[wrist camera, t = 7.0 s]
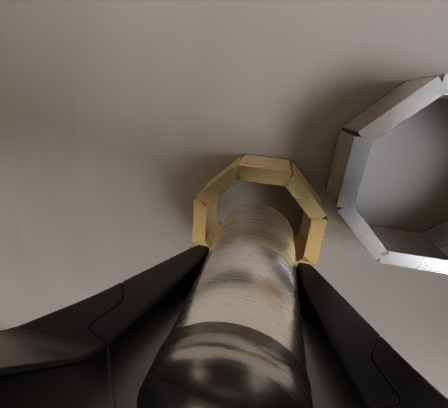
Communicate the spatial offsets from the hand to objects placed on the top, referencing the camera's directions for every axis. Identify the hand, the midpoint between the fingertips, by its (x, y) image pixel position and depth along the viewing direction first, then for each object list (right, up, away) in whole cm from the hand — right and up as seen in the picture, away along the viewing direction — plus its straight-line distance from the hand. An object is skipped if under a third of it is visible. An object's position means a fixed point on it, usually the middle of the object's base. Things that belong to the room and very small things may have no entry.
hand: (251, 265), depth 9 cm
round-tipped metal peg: (0, +1, +2) cm, 2 cm away
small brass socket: (+1, +2, +5) cm, 5 cm away
